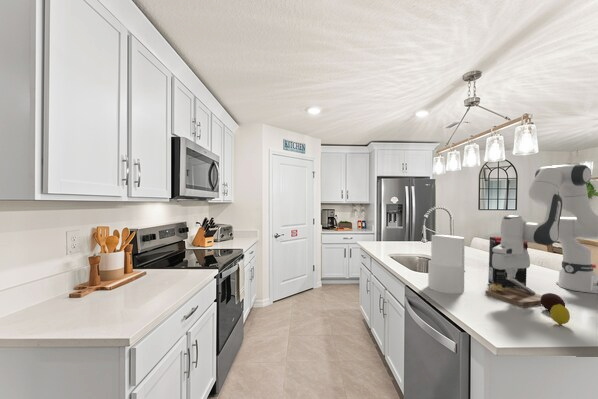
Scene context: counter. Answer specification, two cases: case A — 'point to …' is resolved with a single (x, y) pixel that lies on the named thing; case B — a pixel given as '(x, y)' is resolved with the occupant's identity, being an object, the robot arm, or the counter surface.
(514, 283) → the bar
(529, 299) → the brown square board
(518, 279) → the graphics card box
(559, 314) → the lemon
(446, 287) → the cylinder
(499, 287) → the block
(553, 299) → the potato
